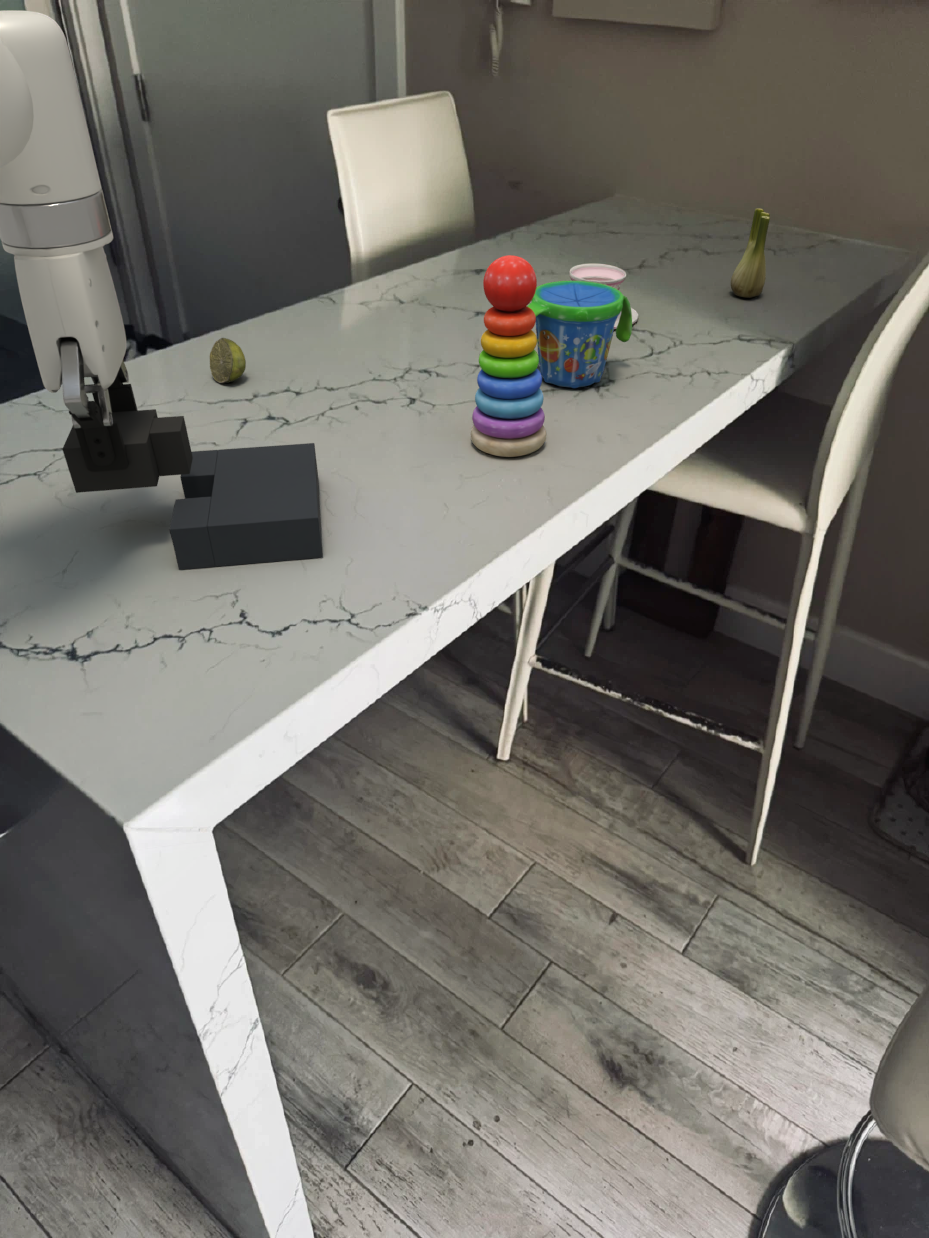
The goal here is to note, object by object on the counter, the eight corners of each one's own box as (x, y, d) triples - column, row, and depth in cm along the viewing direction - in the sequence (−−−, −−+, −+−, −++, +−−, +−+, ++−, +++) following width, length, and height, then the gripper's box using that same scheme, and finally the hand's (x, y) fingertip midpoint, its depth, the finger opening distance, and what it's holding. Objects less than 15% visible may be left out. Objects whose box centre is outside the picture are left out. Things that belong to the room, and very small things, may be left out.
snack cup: (604, 354, 112) (612, 272, 106) (649, 384, 105) (661, 297, 98) (494, 372, 107) (496, 288, 101) (533, 405, 100) (537, 316, 94)
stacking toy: (554, 432, 94) (566, 250, 83) (534, 465, 88) (544, 273, 77) (484, 422, 96) (486, 243, 85) (460, 453, 90) (459, 265, 79)
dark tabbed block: (75, 493, 72) (61, 449, 69) (89, 456, 77) (77, 414, 74) (188, 484, 73) (178, 440, 70) (194, 449, 78) (185, 407, 75)
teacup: (541, 307, 127) (544, 263, 123) (618, 301, 129) (623, 257, 126) (569, 335, 118) (572, 288, 114) (651, 328, 120) (657, 282, 116)
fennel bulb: (755, 303, 128) (773, 216, 121) (723, 298, 130) (738, 212, 123) (766, 293, 132) (784, 208, 125) (734, 288, 134) (750, 204, 127)
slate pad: (178, 570, 73) (169, 529, 71) (193, 489, 84) (185, 451, 82) (322, 557, 75) (318, 517, 72) (318, 480, 86) (314, 442, 83)
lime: (240, 388, 103) (234, 347, 100) (202, 385, 104) (195, 344, 101) (255, 374, 107) (249, 334, 104) (218, 371, 108) (211, 331, 105)
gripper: (27, 196, 69) (88, 409, 80) (-37, 258, 55) (47, 504, 66) (125, 192, 70) (172, 403, 81) (86, 252, 56) (149, 496, 67)
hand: (115, 447), depth 73 cm, fingers closed on dark tabbed block, 6 cm apart
